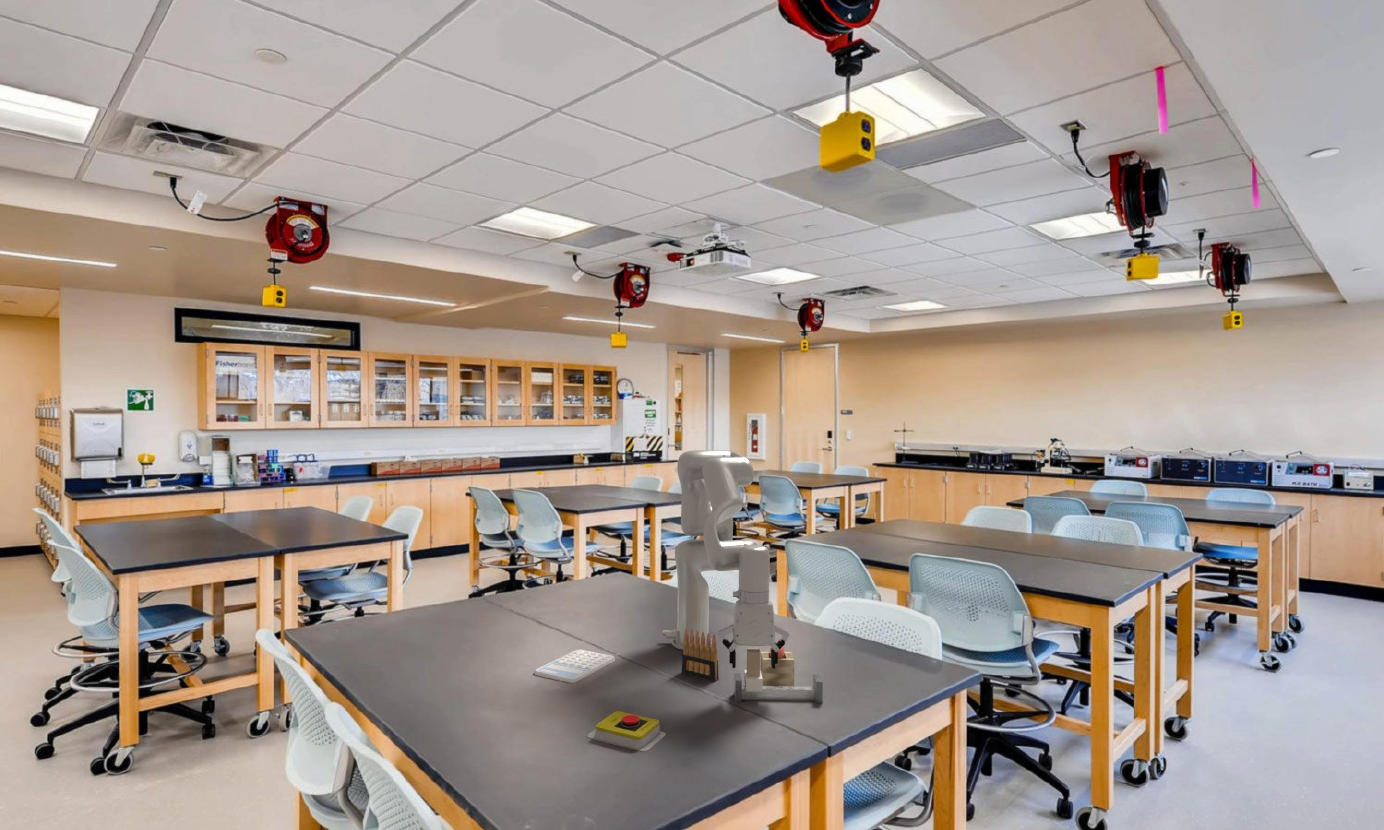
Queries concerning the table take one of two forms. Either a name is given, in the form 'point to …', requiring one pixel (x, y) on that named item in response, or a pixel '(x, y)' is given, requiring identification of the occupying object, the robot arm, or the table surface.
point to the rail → (780, 691)
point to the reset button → (779, 653)
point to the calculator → (574, 666)
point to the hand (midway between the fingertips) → (753, 666)
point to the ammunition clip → (700, 656)
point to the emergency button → (628, 731)
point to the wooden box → (777, 670)
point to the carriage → (753, 671)
